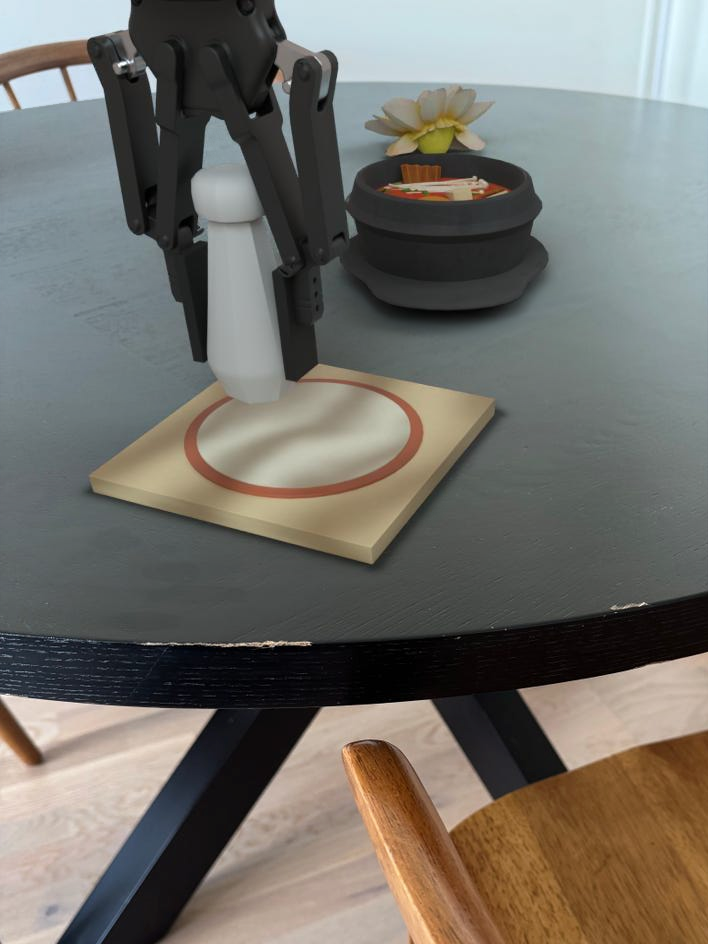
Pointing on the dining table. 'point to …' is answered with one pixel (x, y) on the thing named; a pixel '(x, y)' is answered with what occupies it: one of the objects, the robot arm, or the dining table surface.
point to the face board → (303, 459)
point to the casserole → (444, 231)
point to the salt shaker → (240, 286)
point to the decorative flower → (431, 121)
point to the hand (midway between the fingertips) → (255, 361)
